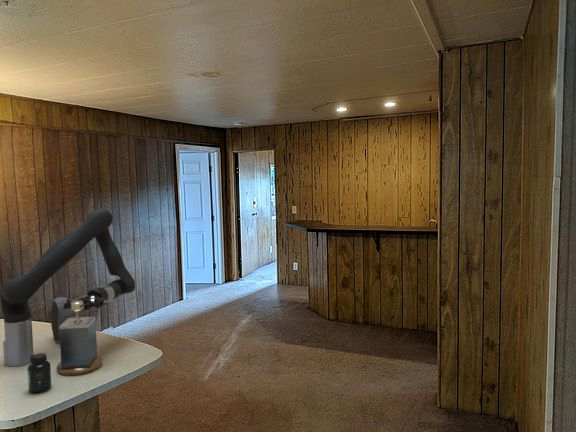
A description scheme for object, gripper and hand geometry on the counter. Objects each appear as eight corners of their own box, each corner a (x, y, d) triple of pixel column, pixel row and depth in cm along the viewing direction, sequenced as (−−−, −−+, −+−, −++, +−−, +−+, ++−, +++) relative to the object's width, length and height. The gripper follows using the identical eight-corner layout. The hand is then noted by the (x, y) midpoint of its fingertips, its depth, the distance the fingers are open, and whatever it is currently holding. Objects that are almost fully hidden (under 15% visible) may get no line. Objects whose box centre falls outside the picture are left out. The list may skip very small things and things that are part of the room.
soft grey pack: (50, 338, 201) (48, 295, 199) (70, 333, 206) (68, 291, 204) (60, 347, 189) (57, 301, 188) (80, 342, 195) (78, 298, 193)
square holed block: (50, 377, 160) (47, 329, 159) (65, 359, 176) (62, 316, 174) (96, 374, 163) (94, 327, 161) (107, 357, 178) (105, 313, 177)
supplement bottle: (26, 395, 147) (24, 360, 146) (31, 386, 154) (29, 353, 153) (48, 392, 149) (46, 358, 148) (53, 383, 156) (51, 350, 155)
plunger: (67, 363, 165) (64, 305, 163) (73, 356, 172) (70, 300, 170) (86, 362, 166) (83, 304, 164) (91, 355, 173) (89, 299, 171)
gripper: (84, 286, 183) (57, 296, 167) (115, 287, 180) (90, 298, 164) (85, 303, 183) (58, 315, 167) (116, 305, 181) (91, 317, 165)
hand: (74, 307), depth 166 cm, fingers open, 8 cm apart
